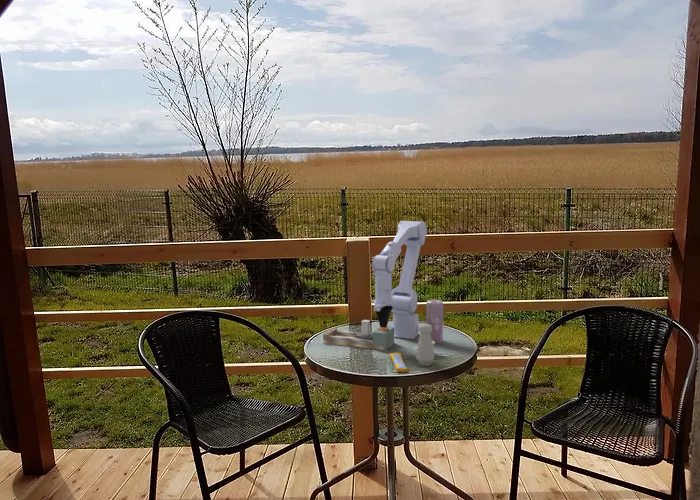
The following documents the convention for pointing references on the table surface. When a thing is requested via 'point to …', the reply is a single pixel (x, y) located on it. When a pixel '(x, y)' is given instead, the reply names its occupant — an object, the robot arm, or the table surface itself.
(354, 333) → the rail track
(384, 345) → the end cabinet
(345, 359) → the table surface
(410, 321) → the robot arm
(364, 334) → the carriage
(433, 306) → the beverage can
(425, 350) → the salt shaker
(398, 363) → the candy bar
